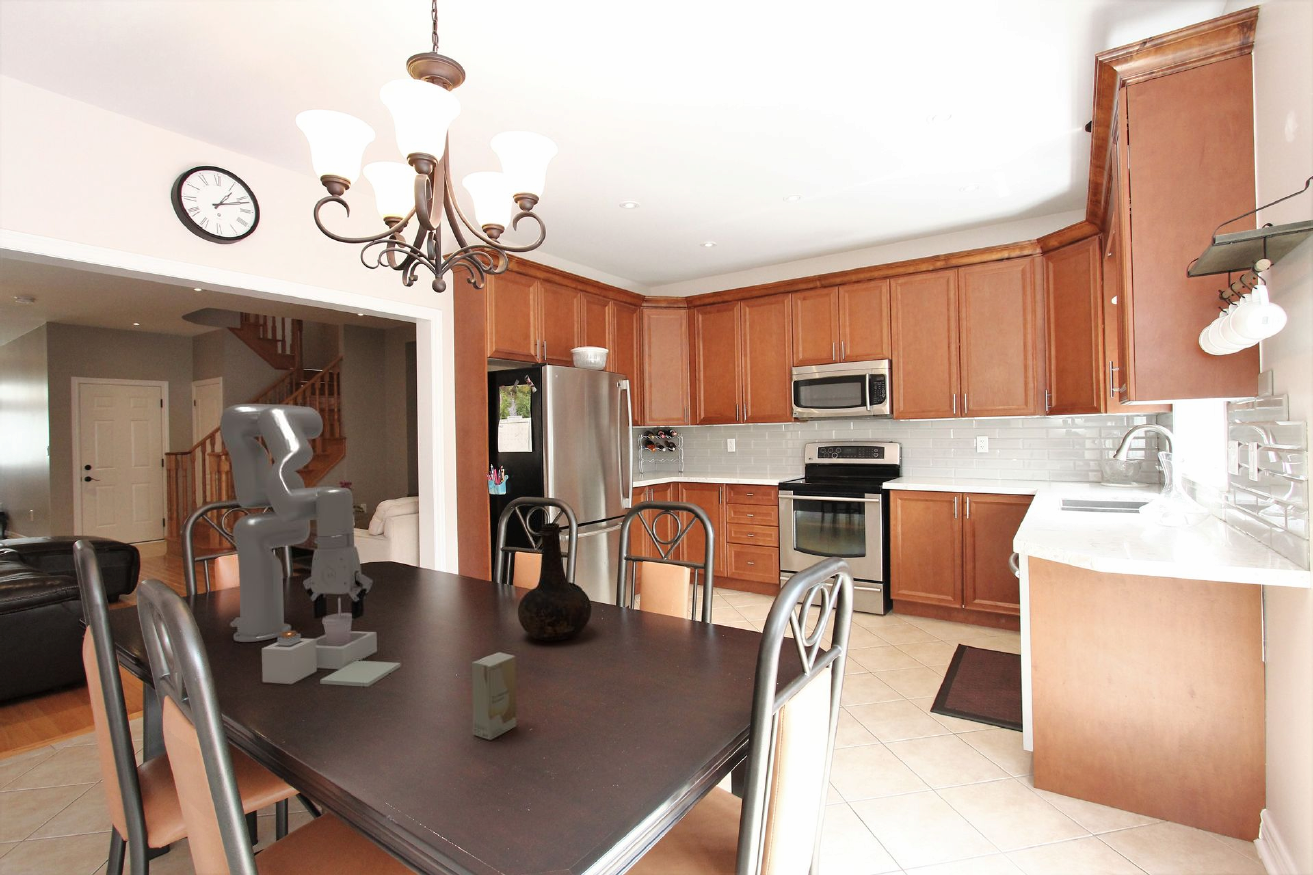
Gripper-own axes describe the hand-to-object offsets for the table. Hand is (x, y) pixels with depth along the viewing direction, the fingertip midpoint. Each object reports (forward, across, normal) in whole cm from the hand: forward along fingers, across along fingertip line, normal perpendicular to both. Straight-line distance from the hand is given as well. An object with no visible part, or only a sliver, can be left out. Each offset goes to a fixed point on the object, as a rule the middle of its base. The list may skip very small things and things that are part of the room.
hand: (339, 617), depth 142 cm
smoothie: (+10, -1, 0) cm, 10 cm away
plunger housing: (+10, -4, -11) cm, 15 cm away
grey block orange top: (+7, -4, -11) cm, 13 cm away
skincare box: (+11, +51, -27) cm, 59 cm away
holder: (+10, -1, 0) cm, 10 cm away
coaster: (+10, +11, -8) cm, 17 cm away
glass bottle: (+11, +43, +22) cm, 50 cm away
